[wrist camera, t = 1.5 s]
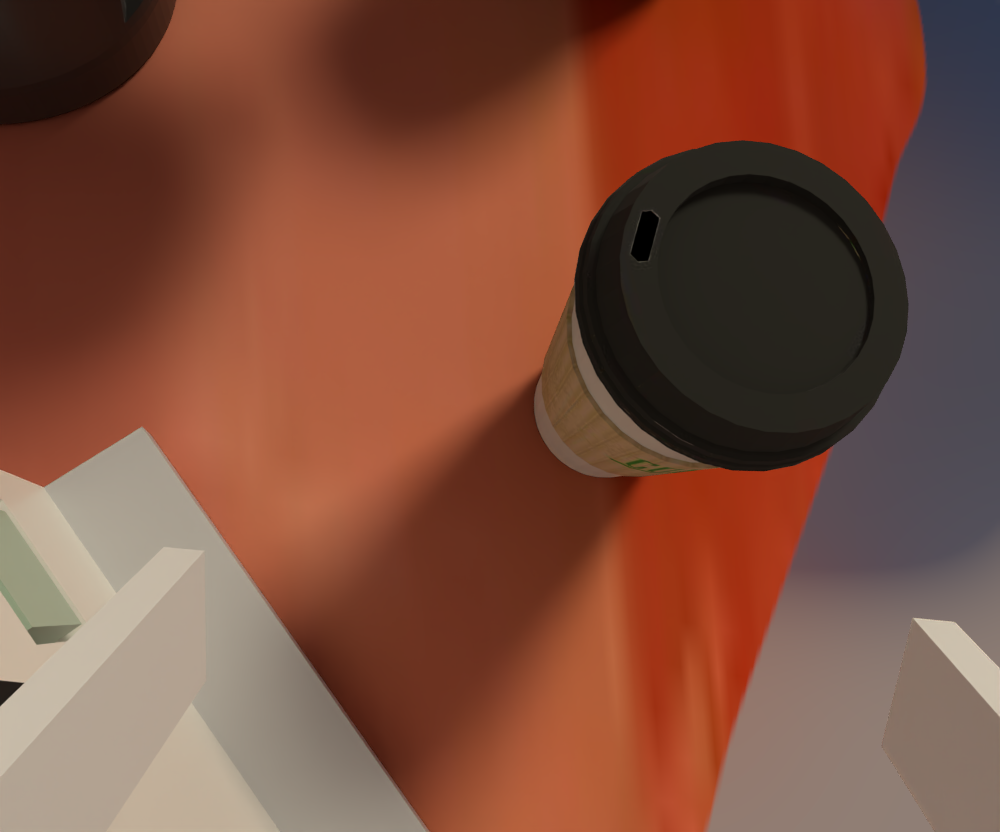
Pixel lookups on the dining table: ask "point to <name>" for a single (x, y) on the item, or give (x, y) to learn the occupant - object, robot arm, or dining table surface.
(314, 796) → the button panel
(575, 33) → the dining table surface
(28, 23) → the robot arm
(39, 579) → the sage button
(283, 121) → the dining table surface
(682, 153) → the coffee cup
